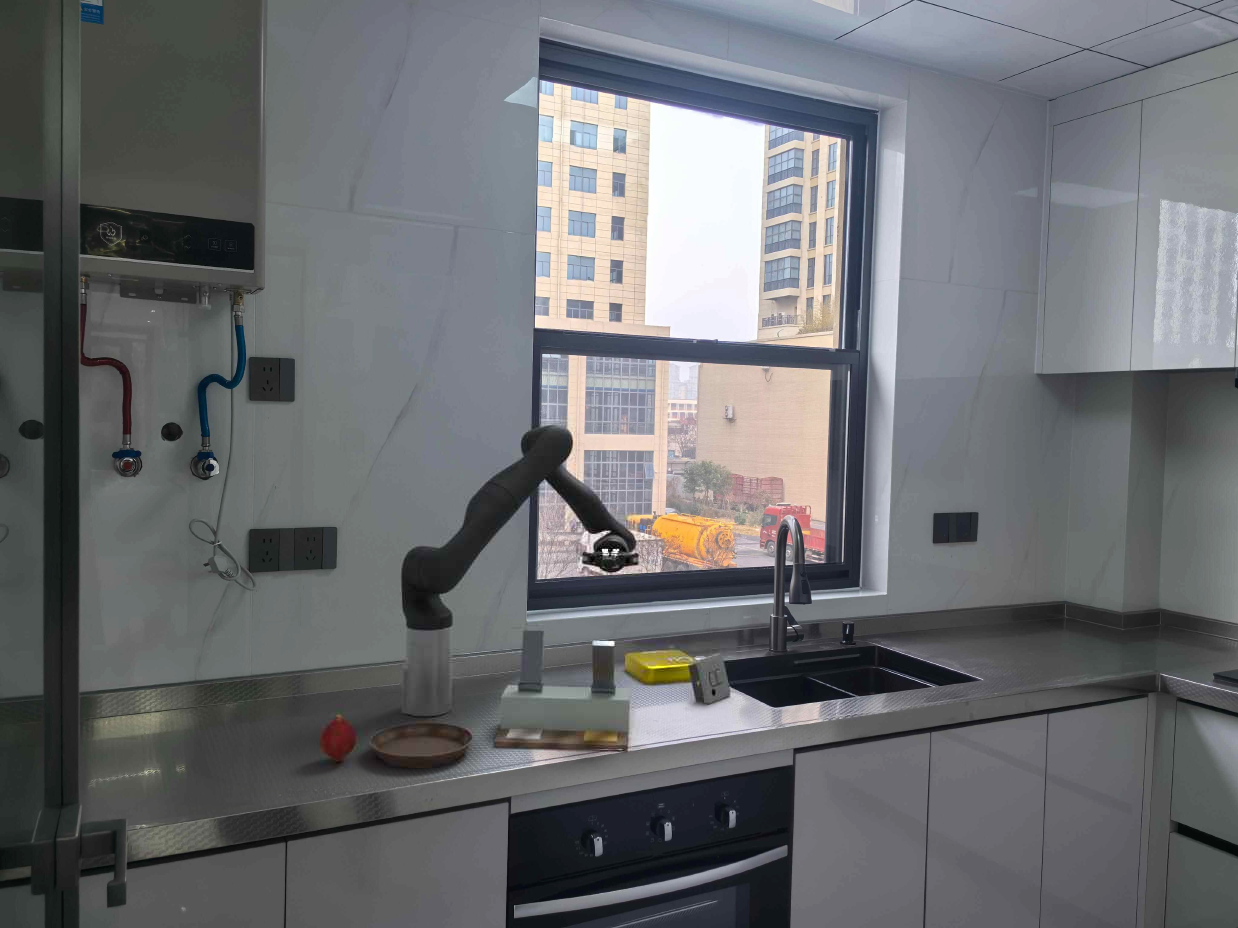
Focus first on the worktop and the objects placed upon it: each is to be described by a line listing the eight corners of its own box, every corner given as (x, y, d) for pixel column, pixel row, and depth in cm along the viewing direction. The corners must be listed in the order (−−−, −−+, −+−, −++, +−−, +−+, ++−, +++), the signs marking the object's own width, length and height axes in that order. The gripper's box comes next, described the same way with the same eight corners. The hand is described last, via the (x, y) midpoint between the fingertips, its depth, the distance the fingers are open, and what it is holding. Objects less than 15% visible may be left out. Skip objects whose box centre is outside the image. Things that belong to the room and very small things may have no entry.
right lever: (591, 694, 163) (590, 645, 158) (591, 688, 165) (591, 640, 160) (615, 695, 163) (615, 646, 158) (615, 689, 164) (615, 640, 160)
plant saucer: (462, 733, 161) (462, 717, 161) (482, 766, 144) (482, 748, 144) (365, 743, 155) (365, 726, 154) (374, 779, 138) (374, 760, 138)
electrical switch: (708, 705, 181) (705, 661, 181) (688, 703, 184) (685, 659, 184) (731, 696, 188) (728, 653, 188) (711, 694, 191) (709, 652, 192)
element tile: (678, 666, 215) (678, 647, 215) (704, 681, 201) (705, 661, 201) (622, 670, 209) (622, 650, 209) (645, 686, 195) (646, 665, 195)
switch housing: (500, 728, 160) (501, 696, 160) (507, 715, 168) (507, 684, 168) (628, 732, 159) (629, 700, 159) (629, 718, 167) (629, 688, 167)
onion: (325, 755, 148) (325, 709, 147) (359, 754, 148) (359, 708, 148) (316, 767, 142) (316, 719, 142) (351, 767, 142) (352, 719, 142)
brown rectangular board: (493, 746, 153) (494, 738, 153) (508, 718, 169) (508, 711, 169) (627, 750, 152) (627, 742, 152) (629, 722, 168) (629, 715, 168)
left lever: (517, 690, 163) (521, 630, 167) (518, 690, 164) (522, 631, 168) (541, 691, 163) (545, 630, 166) (542, 691, 164) (546, 631, 168)
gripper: (583, 536, 194) (577, 545, 177) (641, 537, 194) (640, 546, 177) (582, 569, 195) (576, 581, 177) (640, 570, 194) (640, 582, 177)
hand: (608, 563), depth 177 cm, fingers closed
